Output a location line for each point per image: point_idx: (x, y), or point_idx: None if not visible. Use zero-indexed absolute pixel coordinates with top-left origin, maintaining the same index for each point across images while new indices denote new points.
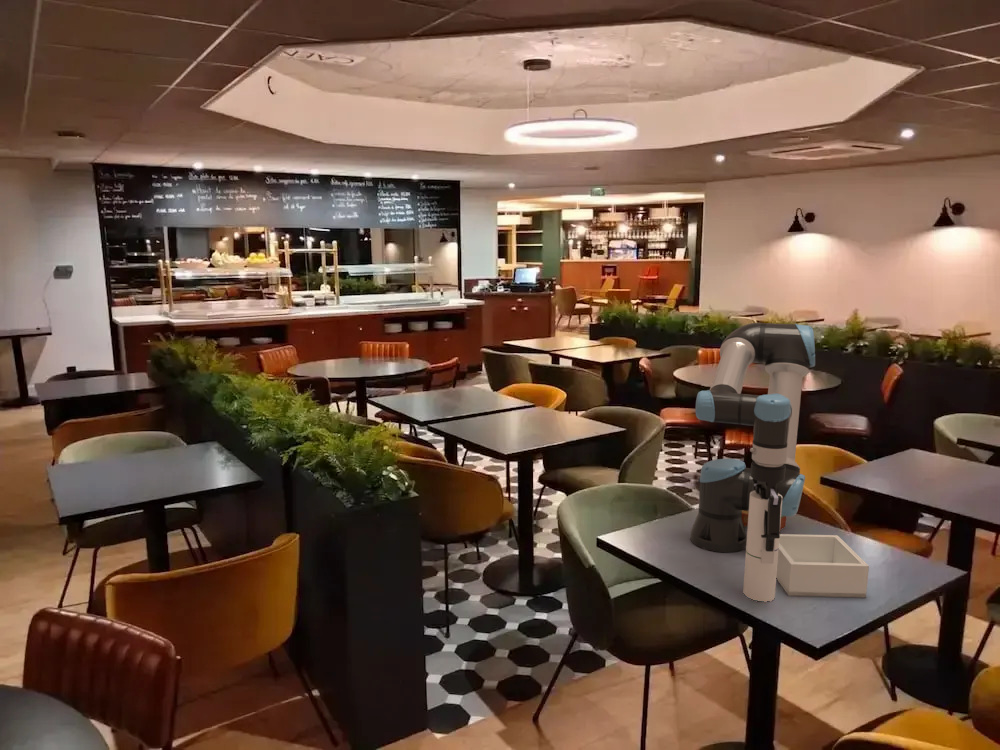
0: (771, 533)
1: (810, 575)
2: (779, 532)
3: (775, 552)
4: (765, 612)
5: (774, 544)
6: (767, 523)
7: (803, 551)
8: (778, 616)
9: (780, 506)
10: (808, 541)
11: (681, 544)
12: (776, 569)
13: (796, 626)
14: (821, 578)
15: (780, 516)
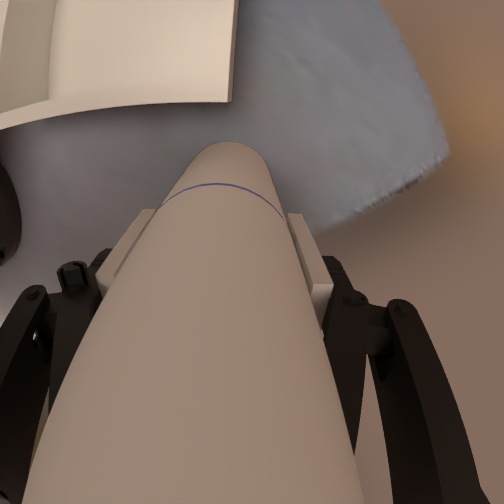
0: (395, 352)
1: (233, 34)
2: (424, 327)
3: (280, 213)
4: (320, 198)
5: (322, 260)
6: (382, 409)
7: (35, 21)
8: (341, 174)
9: (479, 485)
10: (18, 7)
11: (16, 282)
12: (257, 170)
13: (386, 154)
14: (236, 3)
15: (294, 336)
